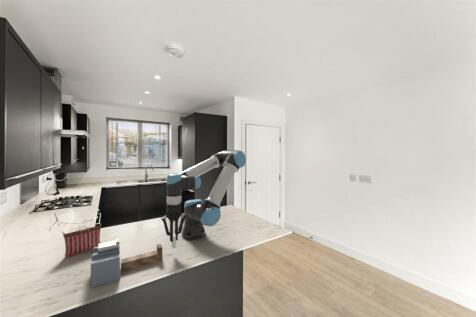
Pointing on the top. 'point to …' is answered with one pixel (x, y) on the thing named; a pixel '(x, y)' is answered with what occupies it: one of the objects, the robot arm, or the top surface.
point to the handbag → (81, 240)
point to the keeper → (108, 246)
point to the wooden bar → (142, 259)
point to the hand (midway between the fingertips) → (173, 246)
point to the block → (105, 267)
